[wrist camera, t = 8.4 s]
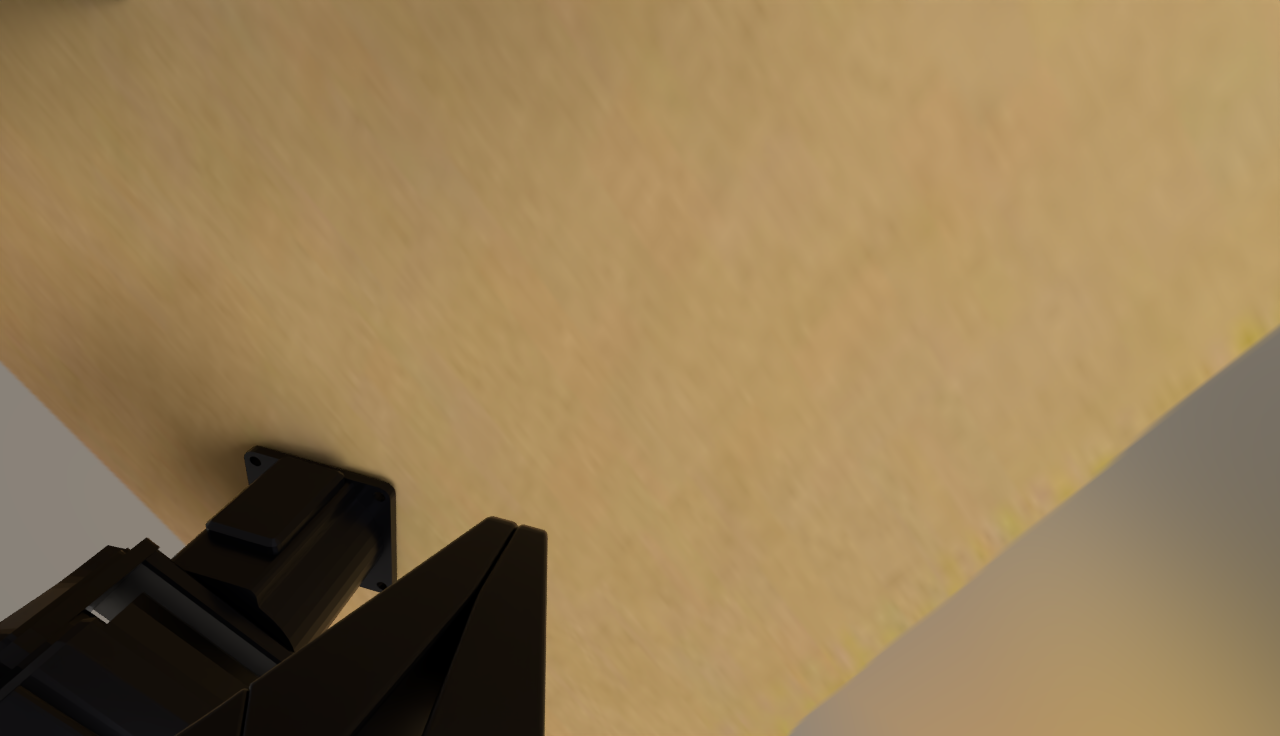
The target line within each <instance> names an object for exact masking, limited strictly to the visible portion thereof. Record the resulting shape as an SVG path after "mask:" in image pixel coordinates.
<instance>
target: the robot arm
mask: <svg viewBox="0 0 1280 736" xmlns="http://www.w3.org/2000/svg"><path fill="white" fill-rule="evenodd" d="M244 459H245V465H246V471H247V477H248V482H249V486H248V487H247V488H246V489H244V490H243V491H242V492H241V493H240V494H239V495H238V496H236V497H235V498H234V499H233V500H232V501H231V502H230V503H228V504H227V505H226V506H225V507H224V508H223V509H221V510H220V511H219V512H218V513H217V514H216V515H215V516H213V517H212V518H211V519H210V520H209V521H208V522H207V523H206V529H205V530H204V531H202V532H201V533H200V534H199V535H198V536H197V537H196V538H195V539H193V540H192V541H191V542H190V543H189V544H188V545H187V546H185V547H184V548H183V549H182V550H181V551H180V552H179V553H177V554H176V555H175V556H174V557H173V558H172V559H170V558H168V557H167V556H166V555H164V554H163V553H162V552H160V551H159V550H158V549H159V548H160V547H159V546H158V545H156V544H155V543H154V542H152V541H151V540H150V539H149V538H145V539H144V540H143V541H141V542H140V543H139V544H137V545H136V546H135V547H134V548H132V549H131V550H130V549H129V548H126V549H123V548H118V547H114V546H109V545H108V546H106V547H105V548H104V549H102V550H101V551H100V552H98V553H97V554H96V555H95V556H93V557H92V558H91V559H89V560H88V561H87V562H86V563H84V564H83V565H82V566H80V567H79V568H78V569H76V570H75V571H74V572H73V573H71V574H70V575H69V576H67V577H66V578H64V579H63V580H62V581H60V582H59V583H58V584H56V585H55V586H53V587H52V588H51V589H49V590H47V591H46V592H45V593H43V594H42V595H40V596H39V597H37V598H36V599H34V600H33V601H31V602H30V603H28V604H27V605H25V606H24V607H23V608H21V609H19V610H18V611H16V612H15V613H13V614H12V615H10V616H9V617H7V618H6V619H4V620H3V621H1V622H0V736H545V673H546V608H547V543H548V536H547V532H546V531H545V530H542V529H538V528H535V527H531V526H527V525H520V526H518V525H517V524H516V523H515V522H513V521H509V520H506V519H502V518H498V517H494V516H491V517H488V518H486V519H484V520H483V521H481V522H480V523H479V524H477V525H476V526H474V527H473V528H471V529H470V530H469V531H467V532H466V533H464V534H463V535H461V536H460V537H459V538H457V539H456V540H454V541H453V542H451V543H450V544H449V545H447V546H446V547H444V548H443V549H441V550H440V551H439V552H437V553H436V554H434V555H433V556H432V557H430V558H429V559H427V560H426V561H424V562H423V563H422V564H420V565H419V566H417V567H416V568H414V569H413V570H412V571H410V572H409V573H407V574H406V575H404V576H403V577H402V578H400V579H399V580H397V556H396V493H395V490H394V488H393V487H392V486H391V485H390V484H389V483H387V482H384V481H381V480H377V479H374V478H370V477H367V476H363V475H360V474H356V473H353V472H349V471H346V470H342V469H339V468H335V467H332V466H328V465H325V464H321V463H317V462H314V461H310V460H307V459H303V458H300V457H296V456H293V455H289V454H286V453H282V452H279V451H275V450H272V449H268V448H265V447H261V446H255V447H253V448H251V449H250V450H249V451H248V452H246V454H245V455H244ZM381 493H382V494H381ZM359 586H360V587H363V588H366V589H370V590H373V591H377V592H380V593H379V594H377V595H376V596H375V597H373V598H372V599H370V600H369V601H367V602H366V603H365V604H363V605H362V606H360V607H359V608H357V609H356V610H355V611H353V612H352V613H350V614H349V615H347V616H346V617H345V618H343V619H342V620H340V621H339V622H338V623H336V624H335V625H333V626H332V627H330V628H329V626H330V625H331V624H332V622H333V621H334V620H335V618H336V617H337V615H338V614H339V613H340V611H341V610H342V609H343V607H344V606H345V605H346V603H347V602H348V601H349V599H350V598H351V597H352V595H353V594H354V593H355V591H356V590H357V588H358V587H359ZM93 609H94V610H95V611H97V612H98V613H99V614H101V615H102V616H104V617H105V618H107V619H108V620H109V621H110V622H109V623H108V624H106V623H105V622H104V621H102V620H100V619H99V618H98V617H96V616H95V615H94V614H92V613H91V611H92V610H93ZM328 628H329V629H328ZM327 629H328V630H327Z"/></svg>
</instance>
